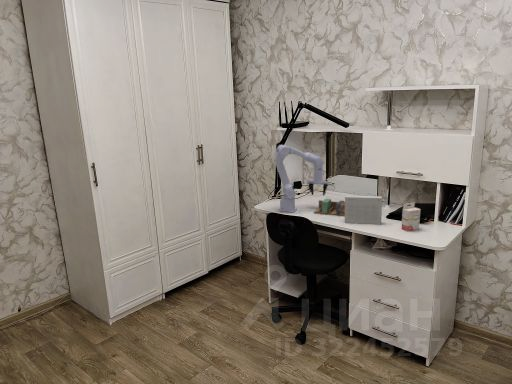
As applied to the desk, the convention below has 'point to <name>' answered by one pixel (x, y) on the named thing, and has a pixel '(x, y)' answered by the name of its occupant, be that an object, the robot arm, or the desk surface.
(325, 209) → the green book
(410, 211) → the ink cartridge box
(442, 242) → the desk surface
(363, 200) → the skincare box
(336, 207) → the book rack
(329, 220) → the desk surface
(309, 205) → the desk surface
